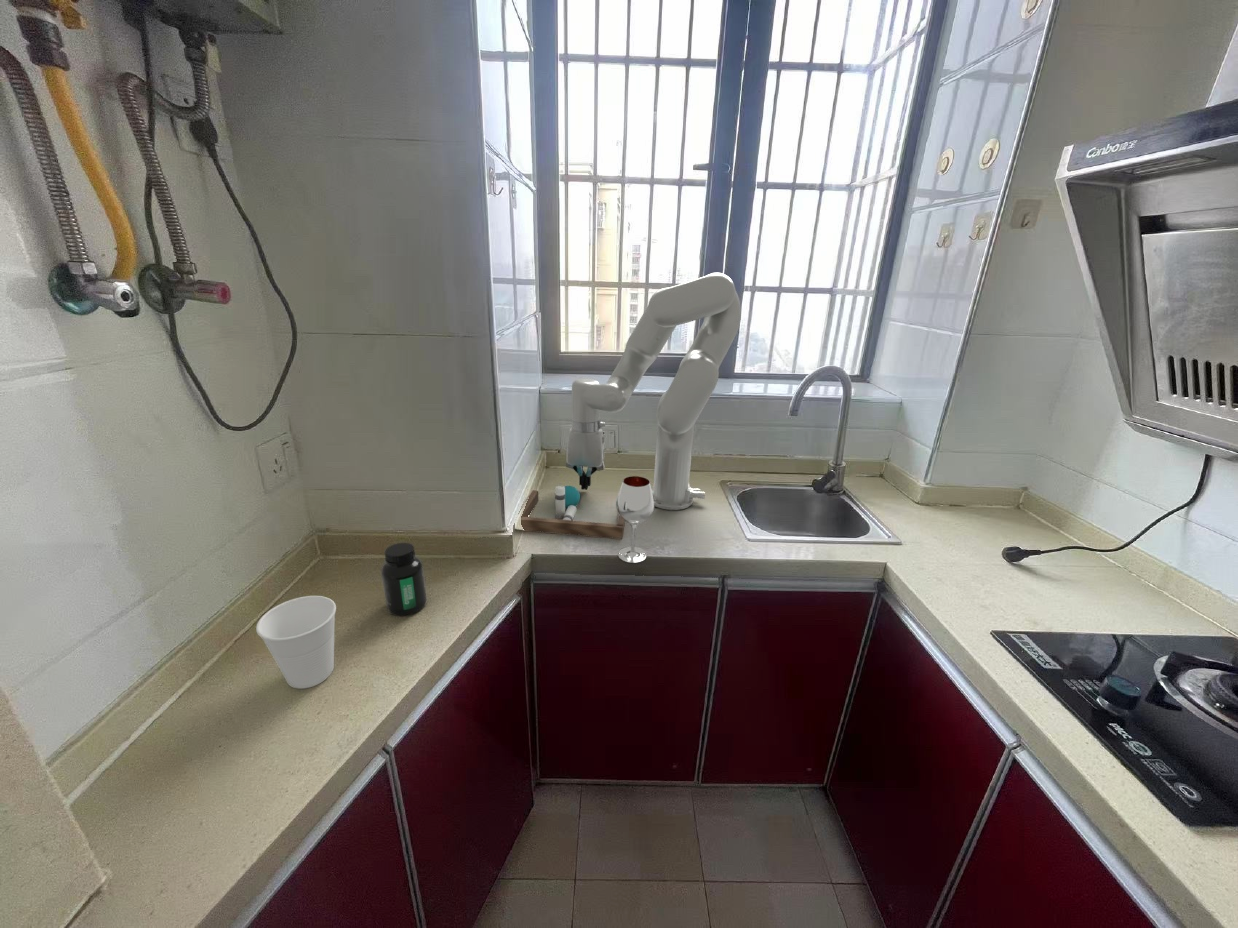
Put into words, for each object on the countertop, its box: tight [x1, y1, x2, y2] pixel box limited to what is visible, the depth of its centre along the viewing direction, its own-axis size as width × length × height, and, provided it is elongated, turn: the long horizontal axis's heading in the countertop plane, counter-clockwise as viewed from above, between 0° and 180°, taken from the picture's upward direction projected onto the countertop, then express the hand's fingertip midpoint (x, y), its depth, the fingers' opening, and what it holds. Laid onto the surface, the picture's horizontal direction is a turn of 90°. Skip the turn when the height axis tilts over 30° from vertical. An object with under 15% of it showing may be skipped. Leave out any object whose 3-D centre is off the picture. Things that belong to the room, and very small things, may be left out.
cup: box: [255, 595, 337, 690], centre depth 74 cm, size 10×10×11 cm
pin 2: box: [562, 505, 577, 521], centre depth 125 cm, size 2×2×8 cm
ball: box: [563, 485, 581, 509], centre depth 131 cm, size 6×6×6 cm
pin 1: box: [554, 485, 566, 520], centre depth 125 cm, size 2×2×8 cm
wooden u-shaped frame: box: [521, 489, 627, 540], centre depth 126 cm, size 26×17×3 cm, turn 84°
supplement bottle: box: [380, 542, 427, 617], centre depth 90 cm, size 7×7×12 cm
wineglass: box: [615, 475, 655, 564], centre depth 108 cm, size 8×8×18 cm
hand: (585, 487), depth 141 cm, fingers closed
